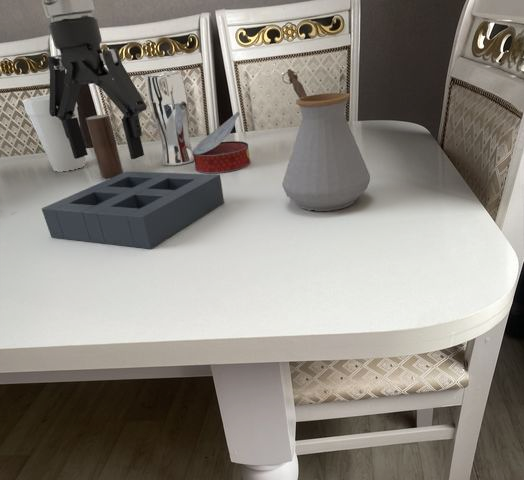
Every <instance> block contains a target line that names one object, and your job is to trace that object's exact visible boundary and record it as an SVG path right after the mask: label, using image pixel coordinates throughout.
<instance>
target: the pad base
mask: <svg viewBox="0 0 524 480" xmlns="http://www.w3.org/2000/svg"><path fill="white" fill-rule="evenodd" d="M223 204H225V199H224V192H223V184H222V178H221V174H218V173H185V172H183V173H181V172H180V173H179V172H158V171H156V172H153V171H123V173H122V174H119V175H117V176H115V177H112V178H109V179H106V180H103V181H101V182H98V183H96V184H93V185H92V186H90V187H88V188H85V189H83V190H81V191H78V192H76V193H74V194H71V195H69V196H67V197H64V198H62V199H60V200H57V201H55V202H53V203H50V204H48V205H46V206H44V207H42V208H41V211H42V215H43V218H44V221H45V223H46V225H47V229H48V232H49V234H50V237H51V238H53V239H63V240H72V241H79V242H88V243H89V242H90V243H97V244H104V245H105V244H106V245H112V246H113V245H114V246H122V247H130V248H139V249H147V250H148V249H149V250H152V249H153V248H155V247H156V246H158V245H160V244H161V243H163V242H164V241H166V240H167V239H169V238H171V237H172V236H175V234H177V233H179V232H180V231H182V230H183V229H185V228H186V227H188V226H190V225H191V224H193V223H195V222H196V221H198V220H199V219H201V218H203V217H204V216H206V215H207V214H208V213H210V212H212V211H214V210H215V209H216V208H218V207H219V206H221V205H223Z"/></svg>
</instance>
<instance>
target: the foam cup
mask: <svg viewBox="0 0 524 480" xmlns="http://www.w3.org/2000/svg"><path fill="white" fill-rule="evenodd" d="M22 104H23V107H24V110H25V114H26V116H28V118H29V121H30V122H31V124H32V126H33V128H34V131H35V133H36V135H37V137H38V139H39V142H40V144H41V147H42V148H43V151H44V153H45V155H46V157H47V159H48V161H49V164H50V166H51V168H52V170H53V171H54V172H55V171H57V172H56V173H64V172H63V171H66V172H70V171H69V170H72V171H75V170H74V169H76V170H79V169H78V168H80V169H81V167H82V168H84V167H86V165H85V164H86V158H85V157H86V156H83V157H81V158H78V159H74V155H73V152H72V148H71V145H70V142H69V139H67V137H66V134H65V131H64V128H63V124H62V121H61V120H60V119H59V118H58V117H56V116H54V117H52V116H51V115H50V112H49V106H50V93H48V94H43V95H38V96H32V97H29V98H25V99H23V100H22ZM78 107H79V105H78V101H77V102H76V106H75V109H74V115H76V116H75V117H71V118H77V119H78V122H79V126H80V127H81V123H80V117H79V111H78ZM57 108H58V106H57ZM83 166H84V167H83Z"/></svg>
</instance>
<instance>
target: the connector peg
mask: <svg viewBox="0 0 524 480" xmlns="http://www.w3.org/2000/svg"><path fill="white" fill-rule="evenodd" d="M85 122H86V124H87V125H86V126H87V129H88V133H89V136H90V140H91V143H92V147H93V151H94V154H95V159H96V162H97V165H98V166H97V167H98V169H99V173H100V176H101V178H102V179H103V180H104V179H106V180H108V179H110V178H112V177H115V176H117V175H119V174H122V173H124V170H123V165H122V162H121V158H120V154H119V149H118V145H117V141H116V137H115V133H114V129H113V125H112V121H111V117H110V114H97V115H92V116H89V117H86V118H85Z"/></svg>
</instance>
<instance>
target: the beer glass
mask: <svg viewBox="0 0 524 480" xmlns="http://www.w3.org/2000/svg"><path fill="white" fill-rule="evenodd" d="M143 77H144V82H145V83H144V84H145V91H146V97H147V98H146V99H147V102H148V107H149V111H150V114H151V118H152V120H153V122H154V126H155V128H156V130H157V133H158V136H159V140H160V144H161V148H162V163H163V165H165V166H169V167H170V166H181V165H187V164H190V163H192V162H194V156H193V150H194V149H193V148H192V144H191V139H190V119H189V112H190V111H189V102H188V95H187V90H186V86H185V82H184V77H183V73H182V70H177V69H176V70H165V71H164V70H163V71H158V72H154V73H147V74H144V76H143Z"/></svg>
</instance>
